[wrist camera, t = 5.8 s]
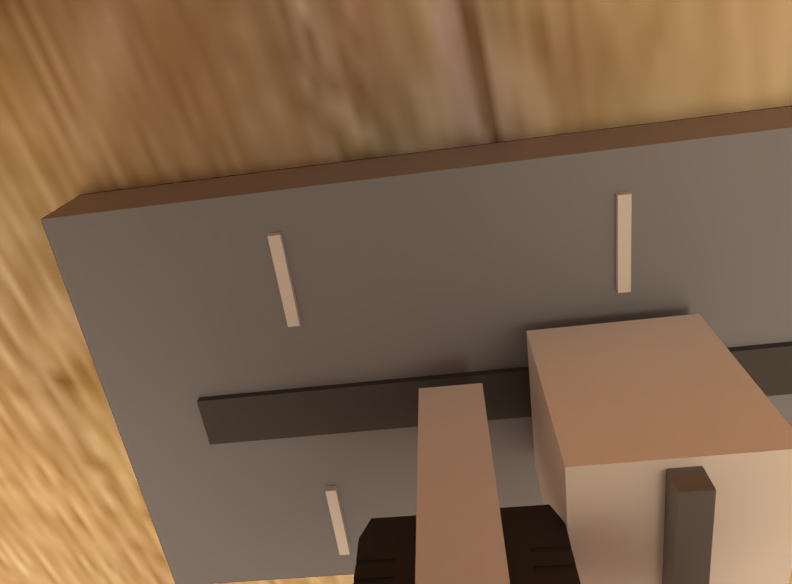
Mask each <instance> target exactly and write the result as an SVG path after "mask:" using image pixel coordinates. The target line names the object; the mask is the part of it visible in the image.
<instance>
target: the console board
mask: <svg viewBox="0 0 792 584" xmlns="http://www.w3.org/2000/svg"><path fill="white" fill-rule="evenodd" d="M41 221H42V224H43V227H44V230H45V232H46V235H47V238H48V240H49V243H50V246H51V248H52V251H53V254H54V257H55V259H56V262H57V265H58V267H59V270H60V273H61V276H62V278H63V281H64V284H65V286H66V289H67V292H68V295H69V297H70V300H71V303H72V305H73V308H74V311H75V313H76V316H77V319H78V322H79V324H80V327H81V330H82V332H83V335H84V338H85V341H86V343H87V346H88V349H89V351H90V354H91V357H92V359H93V362H94V365H95V368H96V370H97V373H98V376H99V378H100V381H101V384H102V387H103V389H104V392H105V395H106V397H107V400H108V403H109V405H110V408H111V411H112V414H113V416H114V419H115V422H116V424H117V427H118V430H119V433H120V435H121V438H122V441H123V443H124V446H125V449H126V451H127V454H128V457H129V460H130V462H131V465H132V468H133V470H134V473H135V476H136V479H137V481H138V484H139V487H140V489H141V492H142V495H143V498H144V500H145V503H146V506H147V508H148V511H149V514H150V516H151V519H152V522H153V525H154V527H155V530H156V533H157V535H158V538H159V541H160V544H161V546H162V549H163V552H164V554H165V557H166V560H167V562H168V565H169V568H170V571H171V573H172V576H173V579H174V581H175V584H214V583H229V582H244V581H259V580H274V579H289V578H304V577H319V576H334V575H349V574H355V565H356V557H357V549H358V540H359V537H360V536H361V534H362V532H363V531H364V529H365V528H366V526H367V524H368V523H369V521H370V520H371V518H383V517H398V516H412V515H416V509H417V455H418V402H419V388H429V387H441V386H453V385H465V384H476V383H482V385H483V392H484V399H485V406H486V414H487V421H488V428H489V435H490V442H491V450H492V457H493V464H494V471H495V478H496V486H497V493H498V500H499V507H500V508H504V507H519V506H533V505H544V503H543V498H542V494H541V489H540V485H539V480H538V476H537V472H536V467H535V458H534V442H533V427H532V411H531V395H530V379H529V364H528V348H527V332H526V331H529V330H539V329H549V328H559V327H569V326H579V325H589V324H600V323H610V322H620V321H630V320H640V319H650V318H660V317H670V316H680V315H691V314H700V315H701V317H702V318H703V319H704V320H705V322H706V323H707V324H708V325H709V326H710V328H711V329H712V330H713V331H714V333H715V334H716V335H717V336H718V337H719V339H720V340H721V341H722V342H723V344H724V345H725V346H726V347H727V349H728V350H729V351H730V352H731V353H732V355H733V356H734V357H735V358H736V360H737V361H738V362H739V363H740V364H741V366H742V367H743V368H744V369H745V371H746V372H747V373H748V374H749V375H750V377H751V378H752V379H753V380H754V382H755V383H756V384H757V385H758V387H759V388H760V389H761V390H762V391H763V393H764V394H765V395H766V396H767V398H768V399H769V400H770V401H771V402H772V404H773V405H774V406H775V407H776V409H777V410H778V411H779V412H780V414H781V415H782V416H783V417H784V418H785V420H786V421H787V422H788V423H789V425H790V426H791V427H792V106H787V107H779V108H771V109H763V110H755V111H747V112H739V113H731V114H723V115H715V116H707V117H699V118H691V119H683V120H675V121H667V122H659V123H651V124H643V125H635V126H627V127H619V128H611V129H603V130H595V131H587V132H579V133H571V134H563V135H555V136H547V137H539V138H531V139H523V140H515V141H507V142H499V143H491V144H483V145H475V146H467V147H459V148H451V149H443V150H435V151H427V152H420V153H412V154H404V155H396V156H388V157H380V158H372V159H364V160H356V161H348V162H340V163H332V164H324V165H316V166H308V167H300V168H292V169H284V170H276V171H268V172H260V173H252V174H244V175H236V176H228V177H220V178H212V179H204V180H196V181H188V182H180V183H172V184H164V185H156V186H148V187H140V188H132V189H124V190H116V191H108V192H100V193H92V194H84V195H79V196H78V197H76V198H74V199H73V200H71V201H70V202H68V203H66V204H65V205H63V206H61V207H60V208H58V209H57V210H55V211H53V212H52V213H50V214H49V215H47V216H45V217H44V218H42V219H41Z"/></svg>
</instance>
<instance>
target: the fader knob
mask: <svg viewBox="0 0 792 584" xmlns="http://www.w3.org/2000/svg"><path fill="white" fill-rule="evenodd" d="M526 332H527V348H528V364H529V379H530V395H531V411H532V427H533V442H534V458H535V467H536V472H537V476H538V480H539V485H540V489H541V494H542V498H543V503H544V505H548V504H550V506H551V507H552V508H553V509H554V510H555V512H556V513H557V514H558V515H559V516H560V517H561V519H562V520H563V521H564V522H565V524H566V528H567V532H568V536H569V540H570V544H571V549H572V552H573V555H574V559H575V563H576V569H577V571H578V575H579V579H580V583H581V584H789V582H790V575H791V568H792V427H791V426H790V425H789V423H788V422H787V421H786V420H785V418H784V417H783V416H782V415H781V414H780V412H779V411H778V410H777V409H776V407H775V406H774V405H773V404H772V402H771V401H770V400H769V399H768V398H767V396H766V395H765V394H764V393H763V391H762V390H761V389H760V388H759V387H758V385H757V384H756V383H755V382H754V380H753V379H752V378H751V377H750V375H749V374H748V373H747V372H746V371H745V369H744V368H743V367H742V366H741V364H740V363H739V362H738V361H737V360H736V358H735V357H734V356H733V355H732V353H731V352H730V351H729V350H728V349H727V347H726V346H725V345H724V344H723V342H722V341H721V340H720V339H719V337H718V336H717V335H716V334H715V333H714V331H713V330H712V329H711V328H710V326H709V325H708V324H707V323H706V322H705V320H704V319H703V318H702V317H701V315H700V314H691V315H680V316H670V317H660V318H650V319H640V320H630V321H620V322H610V323H600V324H589V325H579V326H569V327H559V328H549V329H539V330H529V331H526Z"/></svg>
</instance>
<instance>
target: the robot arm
mask: <svg viewBox="0 0 792 584" xmlns="http://www.w3.org/2000/svg"><path fill="white" fill-rule="evenodd" d="M354 584H581V583H580V579H579V575H578V571H577V569H576V563H575V559H574V555H573V552H572V549H571V544H570V540H569V536H568V532H567V528H566V524H565V522H564V521H563V520H562V519H561V517H560V516H559V515H558V514H557V513H556V512H555V510H554V509H553V508H552V507H551V506H550V504H548V505H533V506H519V507H504V508H500V507H499V500H498V493H497V486H496V478H495V471H494V464H493V457H492V450H491V442H490V435H489V428H488V421H487V414H486V406H485V399H484V392H483V385H482V383H476V384H465V385H453V386H441V387H429V388H419V402H418V455H417V509H416V515H412V516H398V517H383V518H371V520H370V521H369V523H368V524H367V526H366V528H365V529H364V531H363V532H362V534H361V536H360V537H359V540H358V549H357V557H356V565H355V574H354Z"/></svg>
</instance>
